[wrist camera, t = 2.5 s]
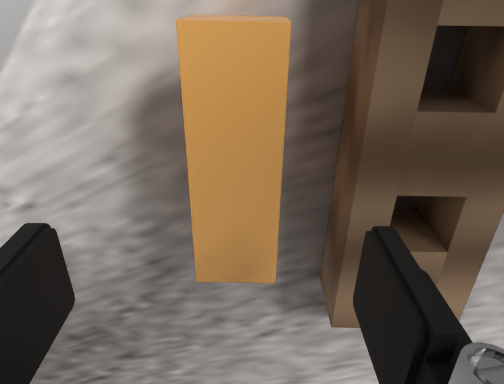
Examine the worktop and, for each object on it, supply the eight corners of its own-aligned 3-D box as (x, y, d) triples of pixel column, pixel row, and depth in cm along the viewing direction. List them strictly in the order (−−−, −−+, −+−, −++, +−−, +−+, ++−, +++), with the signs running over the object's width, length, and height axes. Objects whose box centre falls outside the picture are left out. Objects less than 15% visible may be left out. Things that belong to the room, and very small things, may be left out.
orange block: (202, 10, 19) (176, 20, 13) (279, 11, 19) (291, 21, 13) (211, 209, 25) (196, 281, 18) (270, 210, 25) (275, 283, 18)
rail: (379, -141, 16) (419, -184, 12) (563, -138, 16) (664, -180, 12) (320, 279, 27) (331, 327, 24) (426, 280, 27) (455, 329, 24)
